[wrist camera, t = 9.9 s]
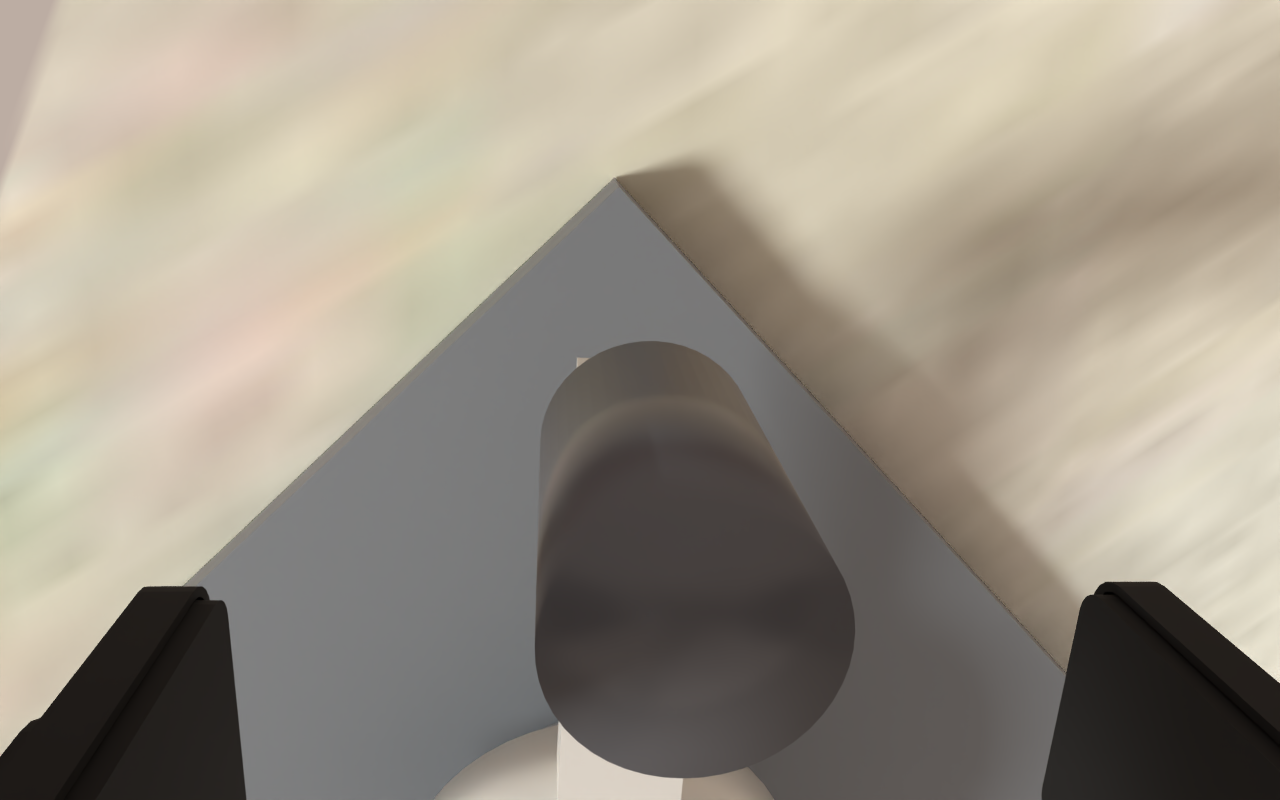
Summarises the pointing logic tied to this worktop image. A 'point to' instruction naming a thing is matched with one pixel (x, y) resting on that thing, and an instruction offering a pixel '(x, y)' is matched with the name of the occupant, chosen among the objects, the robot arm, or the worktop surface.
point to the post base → (507, 564)
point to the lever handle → (668, 593)
